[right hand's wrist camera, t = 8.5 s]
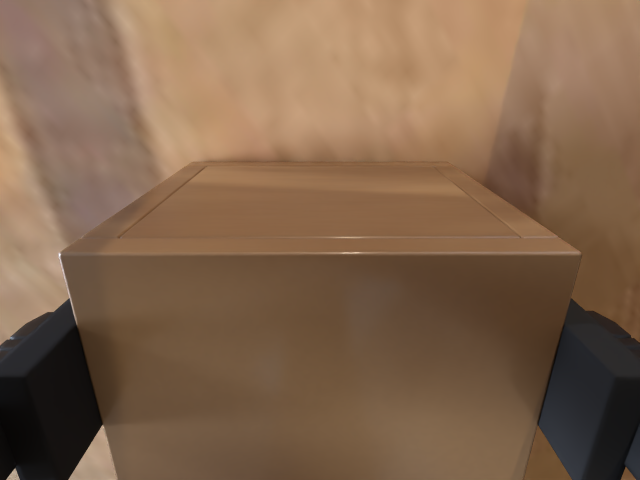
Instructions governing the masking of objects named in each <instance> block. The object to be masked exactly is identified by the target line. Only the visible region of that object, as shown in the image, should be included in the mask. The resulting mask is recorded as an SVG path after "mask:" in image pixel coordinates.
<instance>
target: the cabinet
mask: <svg viewBox="0 0 640 480" xmlns="http://www.w3.org/2000/svg"><path fill="white" fill-rule="evenodd" d="M581 257H582V253H581V252H580V251H579V250H577V249H576V248H574V247H573V246H571V245H570V244H568V243H567V242H565V241H564V240H562V239H560V238H559V237H558V236H557V235H556V234H554V233H553V232H551V231H550V230H548V229H547V228H545V227H544V226H542V225H541V224H539V223H538V222H536V221H535V220H533V219H532V218H530V217H529V216H527V215H526V214H524V213H523V212H521V211H520V210H518V209H517V208H515V207H514V206H513V205H511V204H510V203H508V202H507V201H505V200H504V199H502V198H501V197H499V196H498V195H496V194H495V193H493V192H492V191H490V190H489V189H487V188H486V187H484V186H483V185H481V184H480V183H478V182H477V181H475V180H474V179H472V178H471V177H469V176H468V175H467V174H465V173H464V172H462V171H461V170H459V169H458V168H456V167H454V166H453V165H451V164H450V163H448V162H191V163H190V164H188V165H187V166H185V167H184V168H182V169H181V170H179V171H178V172H176V173H175V174H173V175H172V176H171V177H169V178H168V179H166V180H165V181H163V182H162V183H160V184H159V185H157V186H156V187H154V188H153V189H151V190H150V191H148V192H147V193H146V194H144V195H143V196H141V197H140V198H138V199H137V200H135V201H134V202H132V203H131V204H129V205H128V206H126V207H125V208H123V209H122V210H121V211H119V212H118V213H116V214H115V215H113V216H112V217H110V218H109V219H107V220H106V221H104V222H103V223H101V224H100V225H99V226H97V227H96V228H94V229H93V230H91V231H90V232H88V233H87V234H85V235H84V236H82V238H81V239H78V240H77V241H75V242H74V243H72V244H71V245H69V246H68V247H66V248H65V249H64V250H62V251H61V252H59V259H60V263H61V267H62V271H63V275H64V278H65V282H66V286H67V290H68V294H69V298H70V302H71V305H72V309H73V313H74V317H75V321H76V325H77V328H78V332H79V336H80V340H81V344H82V348H83V352H84V355H85V359H86V363H87V367H88V371H89V375H90V378H91V382H92V386H93V390H94V394H95V398H96V402H97V405H98V409H99V413H100V417H101V421H102V425H103V428H104V432H105V436H106V440H107V444H108V448H109V452H110V455H111V459H112V463H113V467H114V471H115V475H116V478H117V480H523V479H524V475H525V472H526V468H527V464H528V460H529V456H530V452H531V449H532V445H533V441H534V437H535V433H536V429H537V426H538V422H539V418H540V414H541V410H542V406H543V403H544V399H545V395H546V391H547V387H548V383H549V380H550V376H551V372H552V368H553V364H554V360H555V357H556V353H557V349H558V345H559V341H560V338H561V334H562V330H563V326H564V322H565V318H566V315H567V311H568V307H569V303H570V299H571V295H572V292H573V288H574V284H575V280H576V276H577V272H578V269H579V265H580V261H581Z"/></svg>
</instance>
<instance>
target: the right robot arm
mask: <svg viewBox="0 0 640 480" xmlns="http://www.w3.org/2000/svg"><path fill="white" fill-rule="evenodd" d="M538 425H539V427H540V429H541V430H542V432H543V433H544V435H545V437H546V438H547V440H548V441H549V443H550V445H551V446H552V448H553V450H554V451H555V453H556V454H557V456H558V458H559V459H560V461H561V462H562V464H563V466H564V467H565V469H566V470H567V472H568V474H569V475H570V477H571V478H572V480H621V477H622V475H623V472H624V469H625V467H627V468H628V469H629V471H630V472H631V473H632V475H633V476H634V477H635V478H636V480H640V343H639V342H638V341H637V340H635V339H634V338H631V335H630V334H628V333H627V332H626V331H625V330H624V329H622V328H621V327H620V326H619V325H618V324H616V323H615V322H613V321H612V320H610V319H608V318H606V317H604V316H602V315H600V314H598V313H596V312H594V311H585V310H584V309H583V308H582V307H580V306H579V305H578V304H577V303H576V302H575V301H574V300H573V299H570V303H569V307H568V311H567V315H566V318H565V322H564V326H563V330H562V334H561V338H560V341H559V345H558V349H557V353H556V357H555V360H554V364H553V368H552V372H551V376H550V380H549V383H548V387H547V391H546V395H545V399H544V403H543V406H542V410H541V414H540V418H539V422H538ZM101 426H102V421H101V417H100V413H99V409H98V405H97V402H96V398H95V394H94V390H93V386H92V382H91V378H90V375H89V371H88V367H87V363H86V359H85V355H84V352H83V348H82V344H81V340H80V336H79V332H78V328H77V325H76V321H75V317H74V313H73V309H72V305H71V302H70V298H69V299H68V300H67V301H66V302H65V303H63V304H62V305H61V306H60V307H59V308H58V309H57V310H56V311H54V312H47V313H45V314H43V315H42V316H40V317H38V318H36V319H34V320H32V321H30V322H28V323H26V324H25V325H24V326H23V327H22V328H20V329H19V330H18V331H17V332H16V333H14V334H13V335H12V336H11V337H10V340H6V341H5V342H4V343H3V344H1V345H0V480H6V479H7V478H8V476H9V475H10V474H11V472H12V471H13V470H14V469H15V468H16V470H17V473H18V476H19V478H20V480H68V479H69V477H70V476H71V474H72V473H73V471H74V469H75V468H76V466H77V465H78V463H79V461H80V460H81V458H82V457H83V455H84V453H85V452H86V450H87V449H88V447H89V445H90V444H91V442H92V441H93V439H94V437H95V436H96V434H97V433H98V431H99V429H100V428H101Z"/></svg>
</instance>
